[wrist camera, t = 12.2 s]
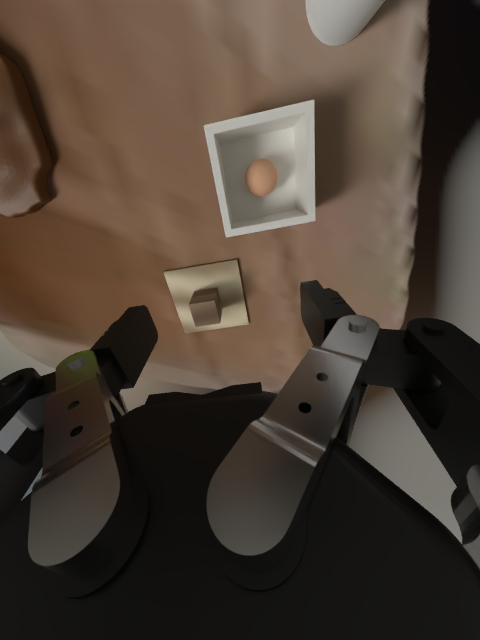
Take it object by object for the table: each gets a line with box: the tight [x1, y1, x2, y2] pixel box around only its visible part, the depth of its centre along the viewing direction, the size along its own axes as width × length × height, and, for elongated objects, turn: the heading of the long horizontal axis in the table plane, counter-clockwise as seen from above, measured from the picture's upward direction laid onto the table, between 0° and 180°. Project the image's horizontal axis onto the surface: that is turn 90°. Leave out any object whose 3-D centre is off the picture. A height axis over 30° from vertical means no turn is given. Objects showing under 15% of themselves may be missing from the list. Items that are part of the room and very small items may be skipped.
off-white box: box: [204, 100, 315, 237], centre depth 27 cm, size 11×11×7 cm
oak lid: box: [164, 259, 249, 333], centre depth 37 cm, size 12×12×6 cm
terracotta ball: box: [245, 159, 278, 197], centre depth 28 cm, size 4×4×4 cm
